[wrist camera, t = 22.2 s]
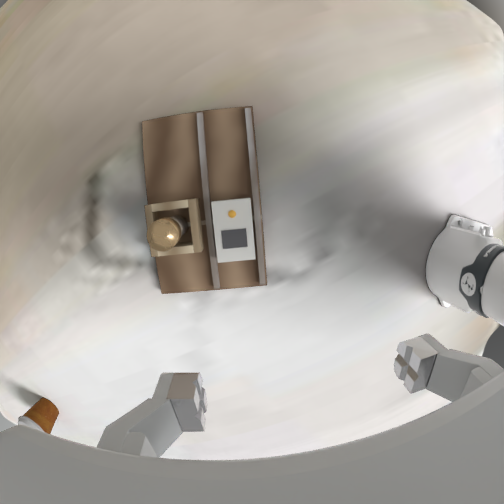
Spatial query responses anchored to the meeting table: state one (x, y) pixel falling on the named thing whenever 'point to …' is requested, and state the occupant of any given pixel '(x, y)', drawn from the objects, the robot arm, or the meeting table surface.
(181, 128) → the board
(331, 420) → the meeting table surface
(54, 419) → the disposable coffee cup
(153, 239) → the grey and tan cylinder
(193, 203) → the socket
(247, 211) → the block
